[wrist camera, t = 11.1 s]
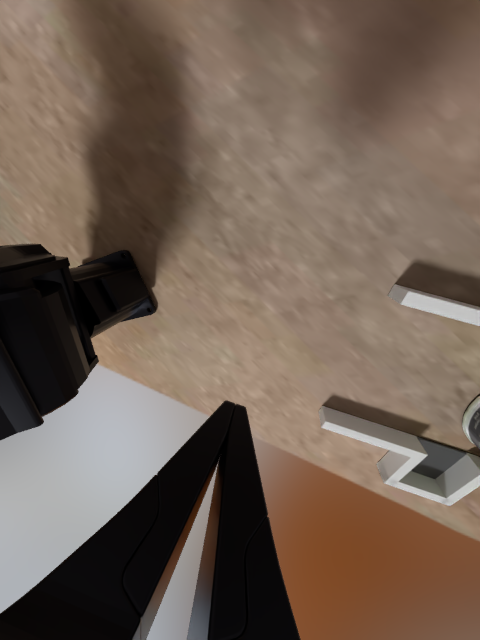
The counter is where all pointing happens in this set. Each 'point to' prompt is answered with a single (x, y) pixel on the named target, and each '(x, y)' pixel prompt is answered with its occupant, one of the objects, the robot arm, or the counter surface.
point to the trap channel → (408, 450)
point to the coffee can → (472, 422)
